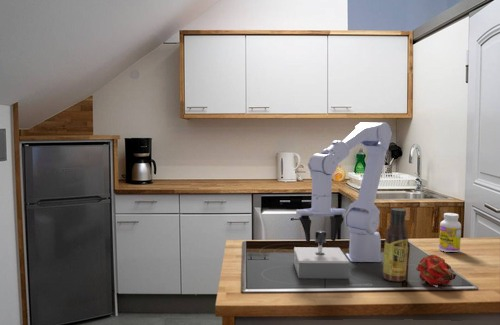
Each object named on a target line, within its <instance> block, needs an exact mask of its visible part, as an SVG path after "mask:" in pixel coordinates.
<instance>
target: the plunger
mask: <svg viewBox="0 0 500 325" xmlns="http://www.w3.org/2000/svg"><path fill="white" fill-rule="evenodd" d="M314 243H316V244H318V246H317V247H318V255H322V247H323V244H326V243H327V231H324V230H315V232H314Z"/></svg>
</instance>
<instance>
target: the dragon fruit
mask: <svg viewBox="0 0 500 325" xmlns="http://www.w3.org/2000/svg"><path fill="white" fill-rule="evenodd" d="M415 269H416V272H419V277H420V280H421V282H422V283H424V282H426V281H427V282H428V284H429V285H431V286H432V285H438V284H439V286H438V287H441V286H440V285H446V286H449V285H450V284H451V283H452V281H453V280H455V279H456V277H457V274H456V273H455V271H454V270H453V269H452V266H451V265H450V264H448V263H447V262H446V260H445V259H444V258H442V257H440V256H438V255H437V254H429V255H428V254H427V256H424V257H423V258H421V259H420V260H419V263H418V264H417V267H416V268H415Z"/></svg>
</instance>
